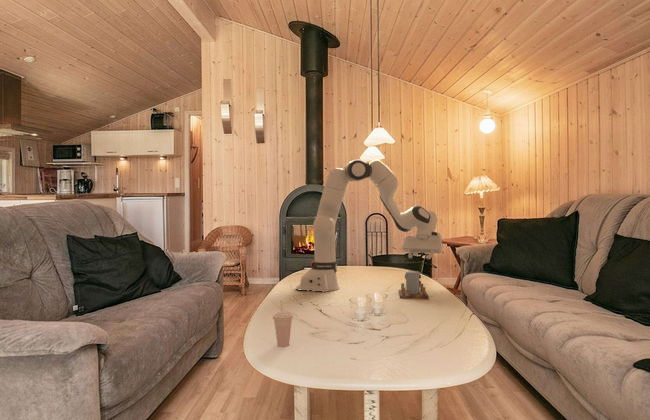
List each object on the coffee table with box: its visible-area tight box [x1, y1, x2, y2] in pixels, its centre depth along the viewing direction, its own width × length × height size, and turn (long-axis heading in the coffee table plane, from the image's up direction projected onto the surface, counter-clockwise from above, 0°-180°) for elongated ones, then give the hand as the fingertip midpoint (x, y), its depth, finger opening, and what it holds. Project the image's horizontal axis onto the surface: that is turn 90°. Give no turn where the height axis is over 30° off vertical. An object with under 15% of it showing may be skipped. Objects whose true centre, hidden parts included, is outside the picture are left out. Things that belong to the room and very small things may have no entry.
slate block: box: [405, 270, 420, 294], centre depth 202 cm, size 5×5×10 cm
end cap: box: [404, 273, 422, 286], centre depth 227 cm, size 10×7×7 cm
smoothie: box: [272, 300, 294, 348], centre depth 135 cm, size 6×6×14 cm
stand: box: [398, 282, 430, 300], centre depth 202 cm, size 13×13×5 cm
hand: (419, 258), depth 211 cm, fingers open, 8 cm apart
